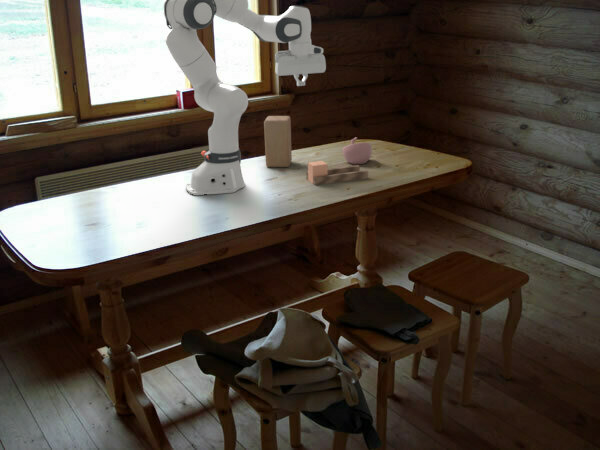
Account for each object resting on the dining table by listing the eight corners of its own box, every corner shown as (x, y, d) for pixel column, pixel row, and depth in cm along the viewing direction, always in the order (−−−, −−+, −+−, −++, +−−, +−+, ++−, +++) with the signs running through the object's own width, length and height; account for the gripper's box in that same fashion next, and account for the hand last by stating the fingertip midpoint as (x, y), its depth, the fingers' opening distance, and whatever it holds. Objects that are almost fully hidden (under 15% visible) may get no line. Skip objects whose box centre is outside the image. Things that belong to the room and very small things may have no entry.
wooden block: (292, 161, 279) (290, 115, 272) (289, 168, 270) (288, 120, 263) (269, 161, 280) (267, 115, 273) (265, 167, 271) (263, 120, 263)
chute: (314, 188, 243) (314, 178, 242) (306, 181, 251) (306, 171, 250) (367, 181, 250) (367, 171, 249) (357, 174, 258) (358, 165, 257)
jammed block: (312, 183, 245) (312, 165, 242) (308, 180, 249) (307, 162, 247) (327, 181, 247) (327, 164, 244) (322, 178, 251) (322, 160, 249)
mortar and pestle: (364, 159, 279) (364, 133, 275) (376, 166, 268) (376, 139, 264) (338, 162, 276) (338, 136, 272) (349, 170, 265) (349, 142, 261)
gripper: (277, 52, 245) (278, 88, 250) (327, 48, 251) (327, 84, 256) (272, 50, 250) (273, 86, 255) (321, 47, 257) (321, 82, 262)
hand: (301, 85), depth 256 cm, fingers closed
